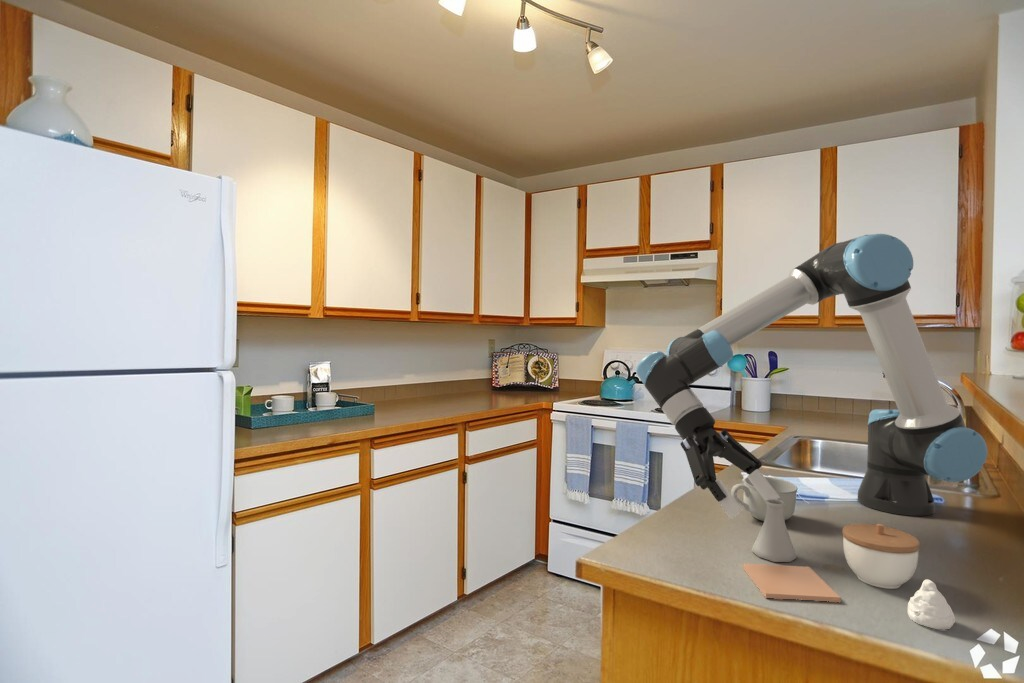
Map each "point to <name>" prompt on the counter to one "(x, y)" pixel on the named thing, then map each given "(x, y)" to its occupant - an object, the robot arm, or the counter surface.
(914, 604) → the garlic bulb
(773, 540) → the flask
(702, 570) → the counter surface
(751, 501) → the teacup
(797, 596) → the coaster
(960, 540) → the counter surface
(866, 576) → the lidded jar
